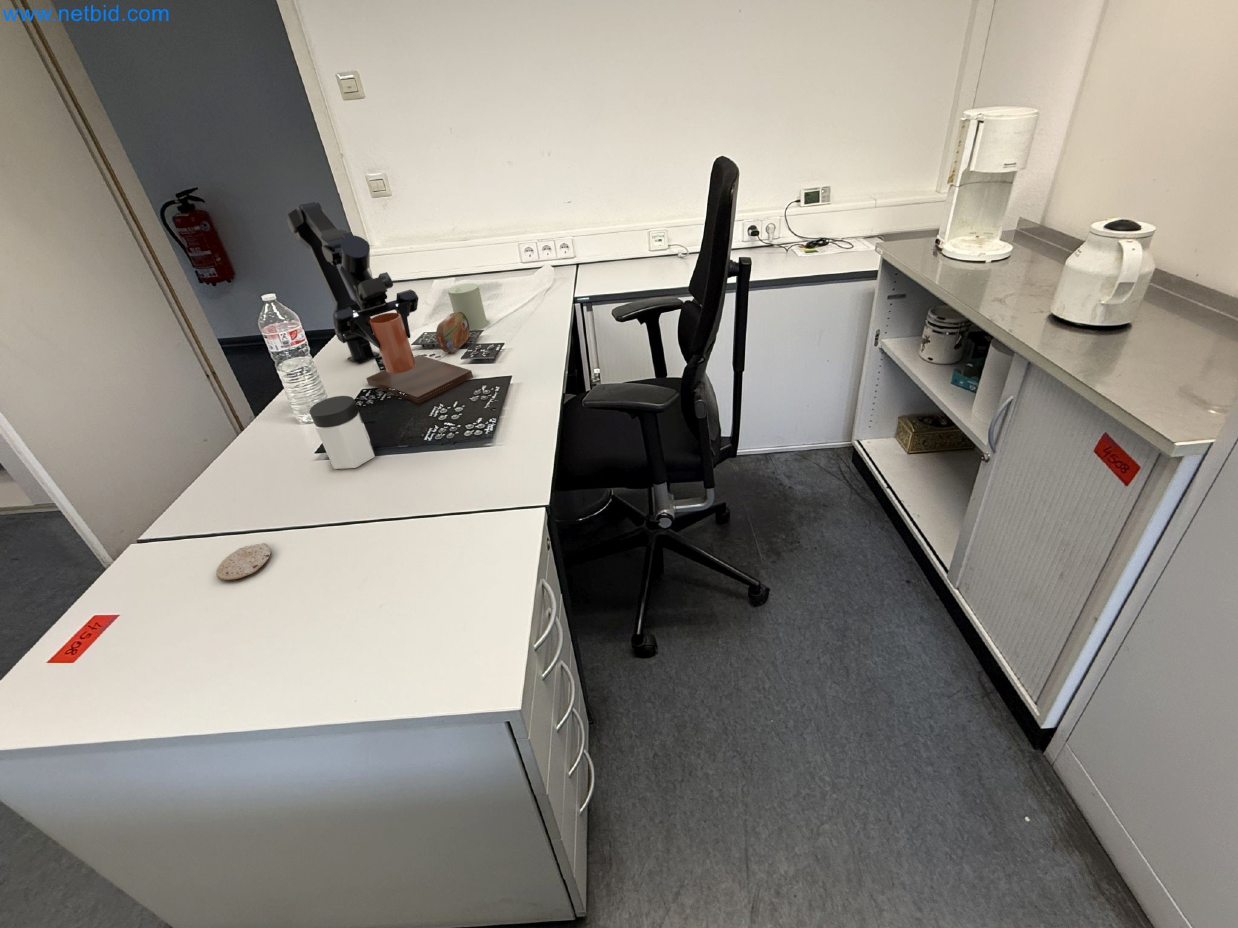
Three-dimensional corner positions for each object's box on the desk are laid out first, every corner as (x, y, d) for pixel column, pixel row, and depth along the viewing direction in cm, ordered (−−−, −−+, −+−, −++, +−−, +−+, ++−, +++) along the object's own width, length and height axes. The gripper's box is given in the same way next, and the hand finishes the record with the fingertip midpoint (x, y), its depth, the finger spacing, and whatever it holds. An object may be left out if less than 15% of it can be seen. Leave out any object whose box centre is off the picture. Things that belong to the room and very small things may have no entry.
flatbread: (248, 583, 88) (245, 578, 87) (206, 580, 89) (203, 575, 89) (283, 547, 94) (280, 542, 94) (243, 545, 96) (240, 540, 95)
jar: (377, 461, 114) (356, 408, 108) (334, 475, 112) (309, 421, 105) (372, 442, 121) (352, 390, 115) (331, 454, 119) (308, 402, 112)
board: (368, 384, 147) (366, 378, 146) (420, 361, 157) (419, 354, 156) (419, 404, 134) (417, 397, 133) (473, 377, 144) (471, 370, 143)
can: (451, 330, 174) (440, 291, 168) (468, 319, 181) (458, 281, 175) (476, 332, 171) (466, 291, 164) (493, 321, 178) (484, 281, 171)
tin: (450, 357, 157) (442, 327, 152) (440, 357, 157) (431, 327, 153) (473, 335, 169) (465, 307, 164) (463, 336, 169) (455, 307, 165)
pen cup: (380, 372, 135) (363, 323, 128) (398, 360, 140) (382, 312, 133) (404, 374, 132) (387, 324, 126) (421, 362, 138) (406, 313, 131)
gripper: (317, 274, 121) (353, 337, 120) (402, 253, 130) (436, 311, 129) (321, 303, 131) (353, 362, 130) (400, 282, 140) (431, 336, 139)
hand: (394, 342), depth 132 cm, fingers closed on pen cup, 7 cm apart
